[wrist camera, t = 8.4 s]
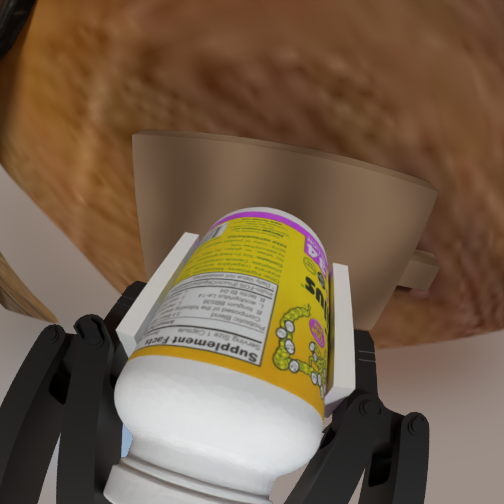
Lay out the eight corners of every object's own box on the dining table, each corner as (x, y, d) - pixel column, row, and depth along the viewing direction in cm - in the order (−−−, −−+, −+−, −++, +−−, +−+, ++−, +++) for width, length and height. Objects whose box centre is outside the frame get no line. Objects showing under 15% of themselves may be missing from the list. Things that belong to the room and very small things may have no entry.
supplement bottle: (320, 309, 16) (291, 537, 6) (213, 297, 17) (129, 495, 7) (335, 205, 12) (326, 565, 2) (197, 197, 13) (20, 448, 3)
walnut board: (156, 269, 21) (147, 281, 20) (145, 129, 15) (132, 134, 14) (395, 319, 19) (398, 334, 18) (459, 193, 13) (470, 204, 12)
